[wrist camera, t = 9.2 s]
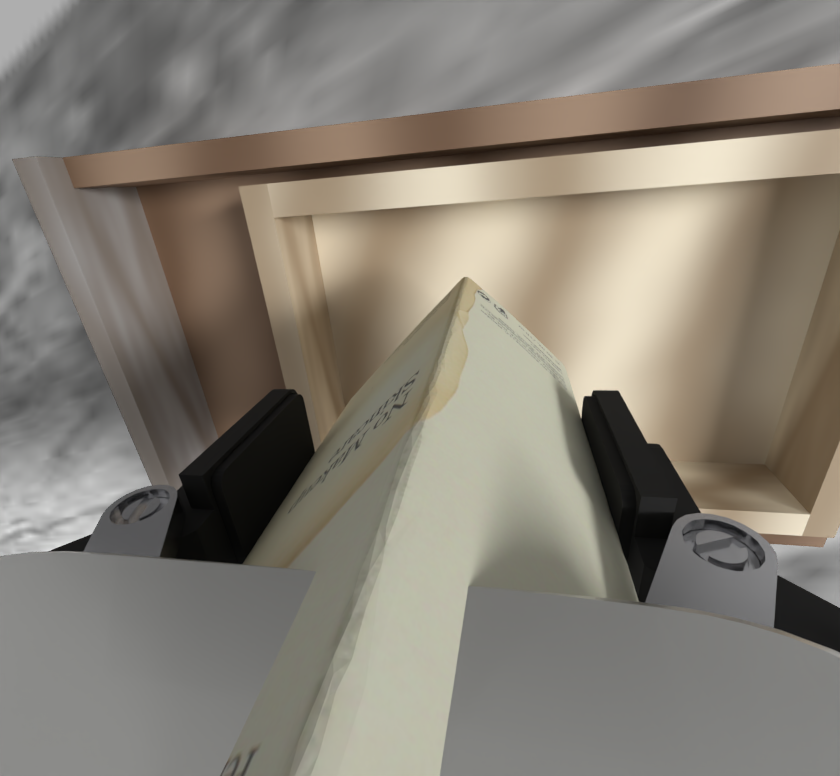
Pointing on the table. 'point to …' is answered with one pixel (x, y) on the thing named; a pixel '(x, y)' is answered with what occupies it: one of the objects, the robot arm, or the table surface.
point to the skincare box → (423, 541)
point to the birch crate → (599, 296)
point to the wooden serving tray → (305, 160)
